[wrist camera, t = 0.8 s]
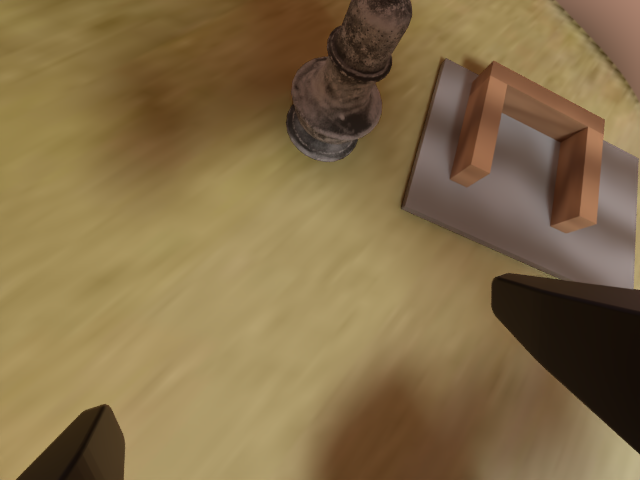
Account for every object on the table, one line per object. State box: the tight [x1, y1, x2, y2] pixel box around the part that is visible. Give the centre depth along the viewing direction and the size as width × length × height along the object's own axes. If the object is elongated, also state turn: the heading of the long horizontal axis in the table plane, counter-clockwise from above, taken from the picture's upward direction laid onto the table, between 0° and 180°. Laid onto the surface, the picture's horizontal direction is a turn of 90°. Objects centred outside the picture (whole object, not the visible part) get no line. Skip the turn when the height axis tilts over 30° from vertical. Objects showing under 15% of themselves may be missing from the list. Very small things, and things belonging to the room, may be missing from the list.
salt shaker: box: [286, 0, 412, 162], centre depth 21 cm, size 6×6×12 cm
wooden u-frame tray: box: [401, 58, 639, 289], centre depth 29 cm, size 14×20×3 cm
